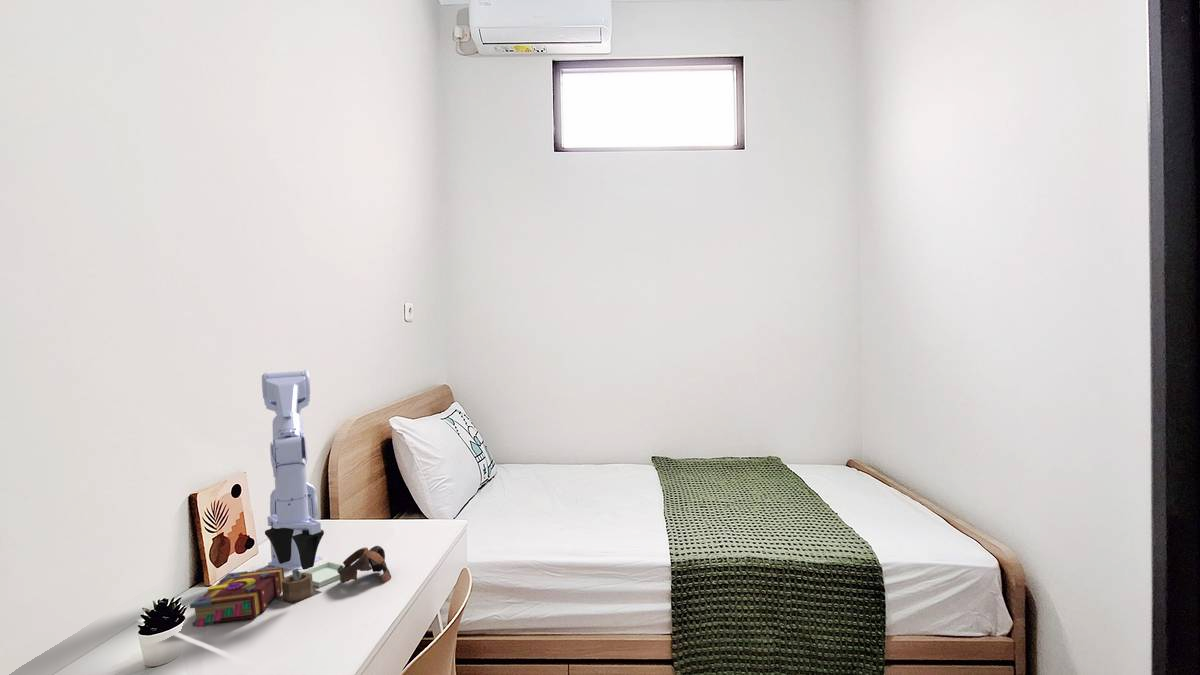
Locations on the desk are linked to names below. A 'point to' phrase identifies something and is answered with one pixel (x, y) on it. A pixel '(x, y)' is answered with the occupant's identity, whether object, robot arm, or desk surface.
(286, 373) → the robot arm
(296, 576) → the grey peg stand
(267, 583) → the decorative book
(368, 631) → the desk surface
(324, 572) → the tray
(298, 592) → the collar
